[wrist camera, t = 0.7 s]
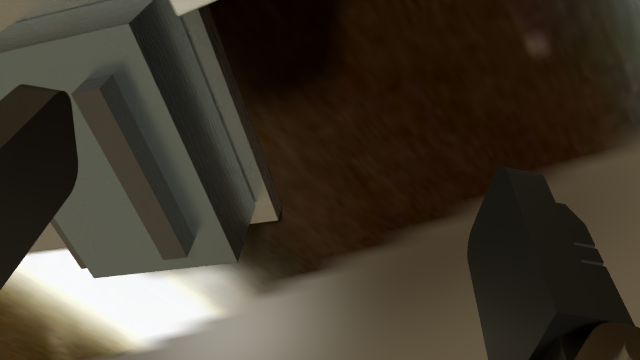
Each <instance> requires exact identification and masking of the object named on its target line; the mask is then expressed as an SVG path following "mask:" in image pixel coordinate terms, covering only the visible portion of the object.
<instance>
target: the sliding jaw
mask: <svg viewBox="0 0 640 360" xmlns="http://www.w3.org/2000/svg"><path fill="white" fill-rule="evenodd" d="M21 84H27V85H32V86H38V87H44V88H50V89H56V90H62V91H65V92H67V93H68V95H69V97H70V99H71V104H72V111H73V120H74V129H75V137H76V146H77V155H78V175H77V179H76V183H75V186H74V188H73V191H72V193H71V194H70V196H69V197H68V198H67V200H66V201H65V202H64V204H63V205H62V207H61V208H60V209H59V211H58V212H57V213H56V215H55V216H54V217H53V219H52V220H51V222H50V223H51V224H52V226H53V227H54V229H55V230H56V232H57V233H58V235H59V236H60V238H61V239H62V241H63V242H64V244H65V245H66V247H67V248H68V250H69V251H70V253H71V254H72V255H73V257H74V258H75V260H76V261H77V263H78V264H79V266H80V267H81V269H83V268H88V270H89V271H90V273H91V274H92V276H93V277H94V278H100V277H109V276H118V275H127V274H136V273H145V272H154V271H163V270H172V269H181V268H190V267H199V266H208V265H217V264H227V263H236V262H238V259H239V256H240V253H241V250H242V247H243V244H244V241H245V238H246V235H247V231H248V228H249V225H250V222H251V219H252V216H253V213H254V210H255V207H256V206H255V203H254V201H253V198H252V196H251V193H250V191H249V188H248V186H247V183H246V181H245V178H244V176H243V173H242V171H241V168H240V166H239V163H238V161H237V158H236V156H235V153H234V151H233V148H232V146H231V143H230V141H229V138H228V136H227V134H226V131H225V129H224V126H223V124H222V121H221V119H220V116H219V114H218V111H217V109H216V106H215V104H214V101H213V99H212V96H211V94H210V91H209V89H208V86H207V84H206V81H205V79H204V76H203V74H202V71H201V69H200V66H199V64H198V61H197V59H196V56H195V54H194V51H193V49H192V46H191V44H190V41H189V39H188V36H187V34H186V31H185V29H184V26H183V24H182V21H181V19H180V16H177V15H176V13H175V12H174V10H173V8H172V6H171V4H170V2H169V0H109V1H105V2H101V3H97V4H93V5H88V6H84V7H80V8H76V9H72V10H68V11H63V12H59V13H55V14H51V15H47V16H43V17H39V18H34V19H30V20H26V21H22V22H18V23H14V24H11V25H9V26H8V27H6V28H5V29H3V30H2V31H0V100H1V99H3V98H4V97H5V96H6V95H7V94H8V93H10V92H11V91H12V90H13V89H14V88H16V87H17V86H18V85H21Z"/></svg>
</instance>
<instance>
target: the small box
mask: <svg viewBox="0 0 640 360" xmlns="http://www.w3.org/2000/svg"><path fill="white" fill-rule="evenodd" d="M215 1H217V0H169V2H170V4H171V6H172V8H173V10H174V12H175V13H176V15H177V16H183V15H185V14H187V13H190V12H192V11H194V10H196V9H199V8H201V7H203V6H206V5H208V4H210V3H213V2H215Z"/></svg>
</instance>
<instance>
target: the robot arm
mask: <svg viewBox="0 0 640 360" xmlns="http://www.w3.org/2000/svg"><path fill="white" fill-rule="evenodd" d="M77 175H78V155H77V146H76V137H75V129H74V120H73V111H72V104H71V99H70V97H69V95H68V93H67V92H65V91H62V90H56V89H50V88H44V87H38V86H32V85H27V84H21V85H18V86H17V87H16V88H14V89H13V90H12V91H11V92H10V93H8V94H7V95H6V96H5V97H4V98H3V99H1V100H0V290H1V288H2V287H3V286H4V284H5V283H6V282H7V280H8V279H9V277H10V276H11V275H12V273H13V272H14V271H15V269H16V268H17V267H18V265H19V264H20V262H21V261H22V260H23V258H24V257H25V256H26V254H27V253H28V252H29V250H30V249H31V247H32V246H33V245H34V243H35V242H36V241H37V239H38V238H39V237H40V235H41V234H42V232H43V231H44V230H45V228H46V227H47V226H48V224H49V223H50V222H51V220H52V219H53V217H54V216H55V215H56V213H57V212H58V211H59V209H60V208H61V207H62V205H63V204H64V202H65V201H66V200H67V198H68V197H69V196H70V194H71V193H72V191H73V188H74V186H75V183H76V179H77ZM594 247H595V244H594V242H593V240H592V238H591V235H590V233H589V231H588V229H587V227H586V225H585V224H584V223H583V222H582V221H581V220H580V219H579V218H578V217H577V216H576V215H575V214H574V213H573V212H572V211H571V210H570V209H569V208H568V207H567V206H566V205H565V204H560V203H556V202H555V200H554V198H553V196H552V194H551V191H550V189H549V187H548V184H547V182H546V180H545V178H544V176H543V175H542V174H540V173H535V172H530V171H524V170H518V169H512V168H506V167H500V168H498V169H497V171H496V172H495V174H494V175H493V178H492V180H491V182H490V185H489V187H488V190H487V192H486V195H485V197H484V200H483V202H482V205H481V207H480V209H479V212H478V214H477V217H476V219H475V222H474V224H473V227H472V229H471V233H470V236H469V242H468V251H467V252H468V253H467V257H468V264H469V269H470V274H471V279H472V284H473V288H474V293H475V298H476V302H477V308H478V313H479V317H480V322H481V327H482V331H483V337H484V341H485V346H486V351H487V356H488V360H640V328H639V327H636V326H635V325H634V323H633V321H632V319H631V317H630V315H629V313H628V311H627V309H626V307H625V305H624V303H623V301H622V299H621V297H620V295H619V292H618V290H617V288H616V286H615V284H614V282H613V280H612V278H611V276H610V274H609V272H608V270H607V268H606V267H604V266H603V263H604V262H603V260H602V258H601V256H600V254H599V252H598V250H597V249H595V248H594Z"/></svg>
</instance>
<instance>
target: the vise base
mask: <svg viewBox="0 0 640 360" xmlns="http://www.w3.org/2000/svg"><path fill="white" fill-rule="evenodd" d="M105 1H109V0H0V31H2V30H3V29H5V28H6V27H8V26H9V25H11V24H14V23H18V22H22V21H26V20H30V19H34V18H39V17H43V16H47V15H51V14H55V13H59V12H63V11H68V10H72V9H76V8H80V7H84V6H88V5H93V4H97V3H101V2H105ZM180 19H181V21H182V24H183V26H184V29H185V31H186V34H187V36H188V39H189V41H190V44H191V46H192V49H193V51H194V54H195V56H196V59H197V61H198V64H199V66H200V69H201V71H202V74H203V76H204V79H205V81H206V84H207V86H208V89H209V91H210V94H211V96H212V99H213V101H214V104H215V106H216V109H217V111H218V114H219V116H220V119H221V121H222V124H223V126H224V129H225V131H226V134H227V136H228V138H229V141H230V143H231V146H232V148H233V151H234V153H235V156H236V158H237V161H238V163H239V166H240V168H241V171H242V173H243V176H244V178H245V181H246V183H247V186H248V188H249V191H250V193H251V196H252V198H253V201H254V203H255V206H256V207H255V210H254V213H253V216H252V219H251V222H250V224H253V223H261V222H268V221H276V220H278V219H279V215H280V211H281V207H282V204H281V202H280V199H279V196H278V194H277V191H276V188H275V185H274V183H273V180H272V177H271V175H270V172H269V169H268V166H267V164H266V161H265V158H264V155H263V153H262V150H261V147H260V145H259V142H258V139H257V136H256V134H255V131H254V128H253V126H252V123H251V120H250V117H249V115H248V112H247V109H246V107H245V104H244V101H243V98H242V96H241V93H240V90H239V88H238V85H237V82H236V79H235V77H234V74H233V71H232V69H231V66H230V63H229V60H228V58H227V55H226V52H225V49H224V47H223V44H222V41H221V39H220V36H219V33H218V30H217V28H216V25H215V22H214V20H213V17H212V14H211V11H210V9H209V6H208V5H206V6H203V7H201V8H199V9H196V10H194V11H192V12H190V13H187V14H185V15H183V16H180ZM64 247H66V245H65V244H64V242H63V241H62V239H61V238H60V236H59V235H58V233H57V232H56V230H55V229H54V227H53V226H52V224H51V223H49V224H48V226H47V227H46V228H45V230H44V231H43V232H42V234H41V235H40V237H39V238H38V239H37V241H36V242H35V243H34V245H33V246H32V247H31V249H30V250H29V252H32V251H40V250H48V249H56V248H64Z"/></svg>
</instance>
